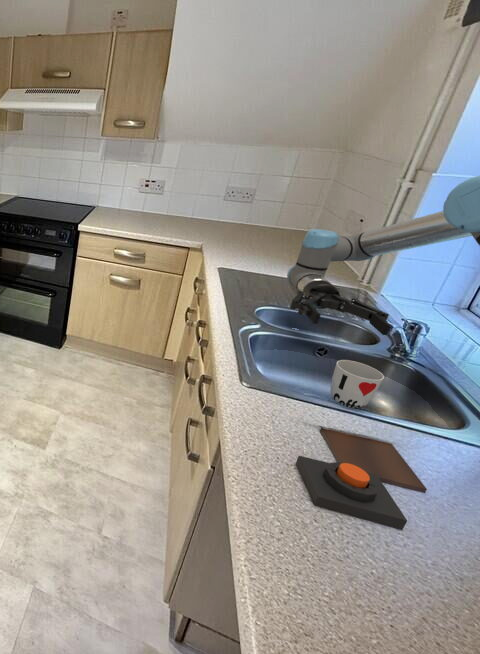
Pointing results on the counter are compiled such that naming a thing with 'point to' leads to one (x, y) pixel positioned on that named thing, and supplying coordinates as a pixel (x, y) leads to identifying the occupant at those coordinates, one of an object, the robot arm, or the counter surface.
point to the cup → (354, 383)
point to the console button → (353, 475)
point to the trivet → (373, 458)
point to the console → (349, 494)
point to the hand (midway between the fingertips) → (351, 324)
